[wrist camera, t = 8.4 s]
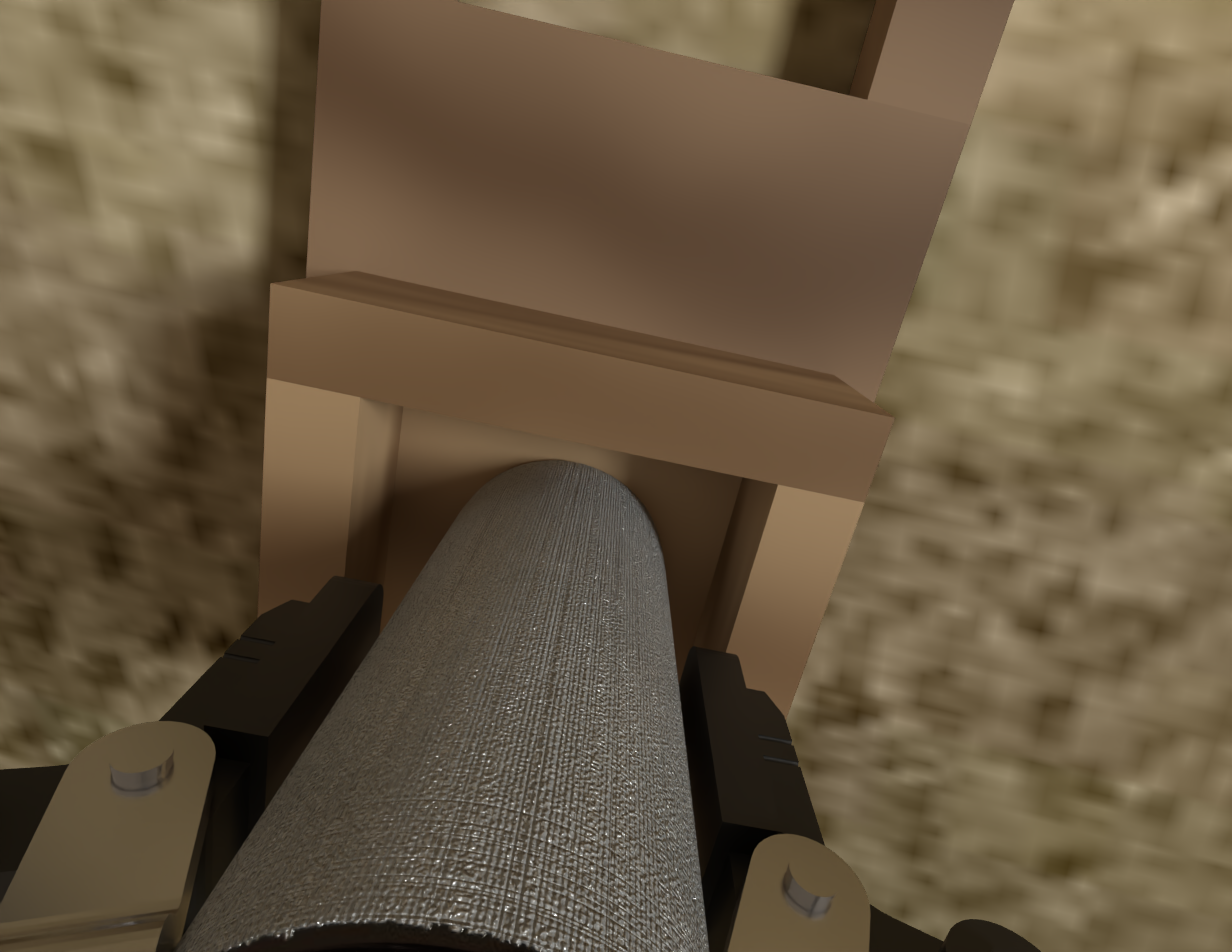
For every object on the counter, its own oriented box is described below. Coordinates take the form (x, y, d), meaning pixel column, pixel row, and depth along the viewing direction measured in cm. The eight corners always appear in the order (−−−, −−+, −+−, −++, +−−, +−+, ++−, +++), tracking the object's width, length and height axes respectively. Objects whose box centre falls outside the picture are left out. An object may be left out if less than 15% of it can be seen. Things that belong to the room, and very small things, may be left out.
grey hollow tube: (656, 449, 14) (724, 916, 4) (668, 644, 15) (739, 1342, 5) (436, 464, 14) (-4, 947, 4) (467, 656, 15) (190, 1349, 6)
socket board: (417, -887, 10) (220, -1919, 5) (1199, -649, 10) (1666, -1374, 6) (306, 697, 19) (200, 849, 14) (722, 775, 20) (751, 945, 15)
